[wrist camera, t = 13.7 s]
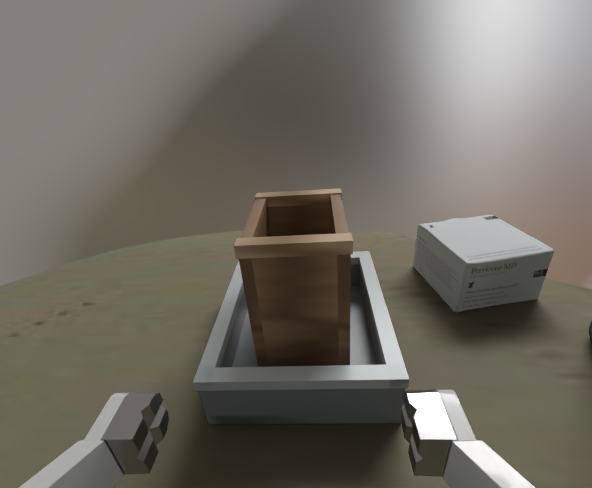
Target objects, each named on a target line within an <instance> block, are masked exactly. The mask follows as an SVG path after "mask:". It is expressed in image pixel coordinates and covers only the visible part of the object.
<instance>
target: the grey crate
mask: <svg viewBox="0 0 592 488" xmlns="http://www.w3.org/2000/svg"><path fill="white" fill-rule="evenodd" d="M408 384H409V377H408V374H407V371H406V367H405V364H404V361H403V358H402V355H401V351H400V348H399V345H398V342H397V339H396V336H395V332H394V329H393V326H392V323H391V320H390V316H389V313H388V310H387V307H386V304H385V300H384V297H383V294H382V291H381V288H380V284H379V281H378V278H377V275H376V272H375V268H374V265H373V262H372V259H371V256H370V252H369V251H363V252H353V254H351V287H350V365H336V366H280V367H258V364H257V358H256V353H255V347H254V342H253V336H252V330H251V325H250V319H249V314H248V308H247V303H246V297H245V292H244V286H243V280H242V275H241V269H240V264H239V261H238V264H237V266H236V269H235V272H234V274H233V277H232V280H231V282H230V285H229V288H228V290H227V293H226V296H225V298H224V301H223V303H222V306H221V309H220V311H219V314H218V317H217V319H216V322H215V325H214V327H213V330H212V333H211V335H210V338H209V341H208V343H207V346H206V349H205V351H204V354H203V357H202V359H201V362H200V365H199V367H198V370H197V373H196V375H195V378H194V381H193V385H194V388H195V391H198V392H199V395H200V398H201V401H202V404H203V407H204V411H205V414H206V417H207V420H208V423H209V424H353V423H401V407H402V406H403V404H404V401H403V392H404V390H405V388H408Z"/></svg>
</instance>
